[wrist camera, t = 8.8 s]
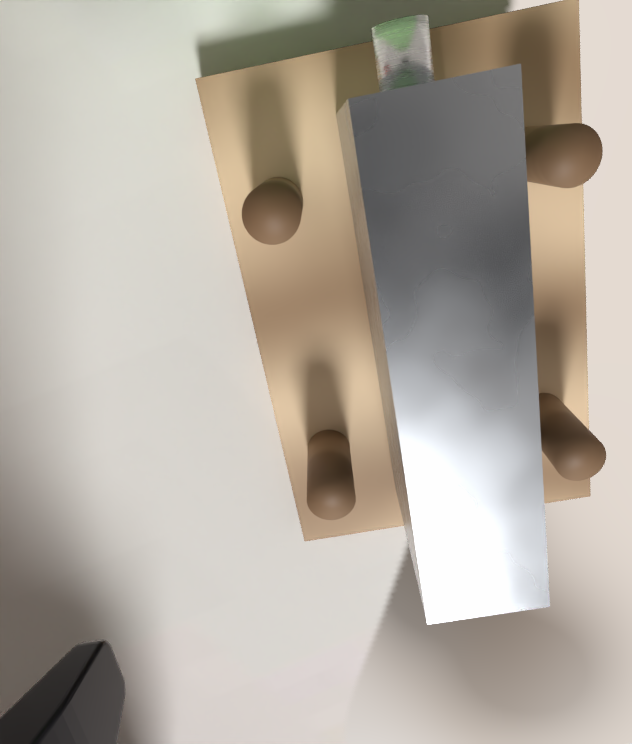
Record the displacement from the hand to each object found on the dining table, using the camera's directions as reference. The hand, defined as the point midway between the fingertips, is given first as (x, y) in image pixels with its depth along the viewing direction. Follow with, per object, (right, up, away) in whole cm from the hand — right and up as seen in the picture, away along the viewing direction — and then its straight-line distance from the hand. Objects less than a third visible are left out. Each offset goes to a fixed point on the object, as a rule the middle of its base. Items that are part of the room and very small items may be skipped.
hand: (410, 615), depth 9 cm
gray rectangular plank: (+2, +5, +9) cm, 11 cm away
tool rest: (+2, +6, +10) cm, 12 cm away
